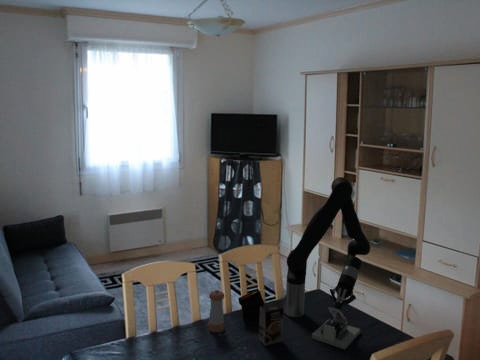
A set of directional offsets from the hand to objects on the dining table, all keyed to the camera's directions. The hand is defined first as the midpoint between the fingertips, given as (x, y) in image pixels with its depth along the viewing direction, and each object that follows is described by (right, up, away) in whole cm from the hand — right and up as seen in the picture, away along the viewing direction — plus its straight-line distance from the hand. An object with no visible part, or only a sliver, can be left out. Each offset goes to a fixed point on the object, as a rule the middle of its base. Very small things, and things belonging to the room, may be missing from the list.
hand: (336, 311), depth 216 cm
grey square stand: (0, -12, +3) cm, 13 cm away
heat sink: (-1, -10, +1) cm, 10 cm away
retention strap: (+3, -5, +5) cm, 8 cm away
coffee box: (-30, -13, -2) cm, 33 cm away
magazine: (-38, -9, +18) cm, 43 cm away
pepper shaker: (-55, -10, +8) cm, 56 cm away
